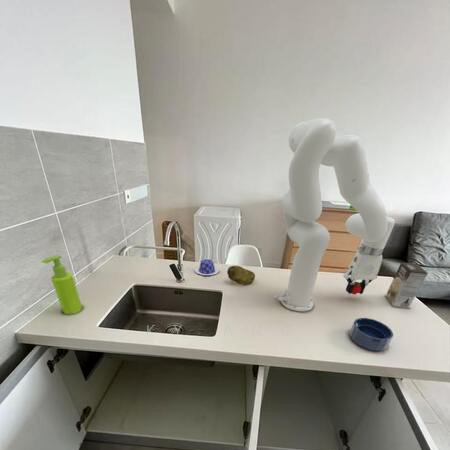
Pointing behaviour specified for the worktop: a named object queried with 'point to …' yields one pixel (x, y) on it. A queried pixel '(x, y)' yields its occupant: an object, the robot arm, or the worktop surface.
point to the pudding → (206, 268)
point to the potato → (240, 275)
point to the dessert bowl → (371, 334)
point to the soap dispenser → (64, 286)
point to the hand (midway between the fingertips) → (353, 291)
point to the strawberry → (356, 288)
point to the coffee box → (406, 284)
